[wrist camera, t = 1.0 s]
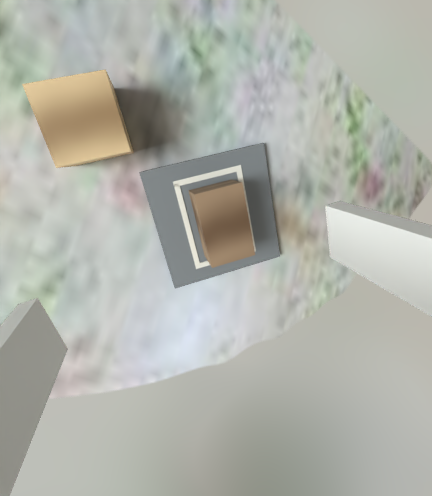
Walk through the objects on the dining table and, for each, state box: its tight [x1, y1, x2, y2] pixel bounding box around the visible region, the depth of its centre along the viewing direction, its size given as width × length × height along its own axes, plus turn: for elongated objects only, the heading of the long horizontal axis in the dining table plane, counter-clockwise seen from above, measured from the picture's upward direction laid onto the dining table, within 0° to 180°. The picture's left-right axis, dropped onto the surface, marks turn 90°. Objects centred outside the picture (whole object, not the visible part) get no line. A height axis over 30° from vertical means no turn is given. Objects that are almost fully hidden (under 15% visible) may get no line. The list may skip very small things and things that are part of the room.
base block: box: [188, 180, 255, 268], centre depth 30 cm, size 8×5×4 cm, turn 13°
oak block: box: [22, 70, 134, 168], centre depth 24 cm, size 6×6×6 cm
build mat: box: [139, 143, 280, 288], centre depth 32 cm, size 14×14×1 cm
